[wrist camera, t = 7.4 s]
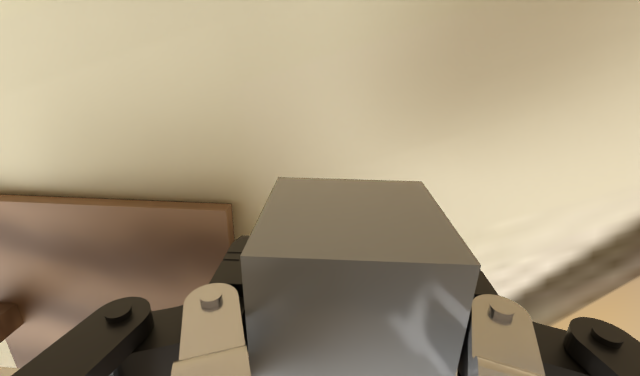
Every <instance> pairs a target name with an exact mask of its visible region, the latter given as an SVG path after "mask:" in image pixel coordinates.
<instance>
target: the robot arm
mask: <svg viewBox="0 0 640 376" xmlns="http://www.w3.org/2000/svg"><path fill="white" fill-rule="evenodd" d="M249 237H250V236H241V237H239V238H238V239H237V240H235V241H234V242H233V243H232V244H231V245H230V247H229V249H228V251H227V253H226V254H225V256H224V258H223V261H221V263H220V265H219V267H218V269H217V270H216V272H215V274H214V276H213V277H212V279H211V281H210V283H209V284H207V285H204V286H201V287H199V288H197V289H195V290H194V291H192V292H191V293H190V294H189V295H188V296H187V297H186V299H185V301H184V305H181V306H177V307H172V308H167V309H161V310H156V311H151V306H150V303H149V302H148V301H147V300H146V299H144V298H141V297H125V298H120V299H117V300H114V301H111V302H109V303H107V304H105V305H103V306H102V307H100V308H99V309H97V310H96V311H95V312H93V313H92V314H91V315H89V316H88V317H87V318H86V319H84V320H83V321H82V322H80V323H79V324H78V325H76V326H75V327H74V328H73V329H71V330H70V331H69V332H67V333H66V334H65V335H63V336H62V337H61V338H59V339H58V340H57V341H56V342H54V343H53V344H52V345H50V346H49V347H48V348H46V349H45V350H44V351H43V352H41V353H40V354H39V355H37V356H36V357H35V358H33V359H32V360H31V361H30V362H28V363H27V364H26V365H24V366H23V367H22V368H20V369H19V370H18V371H17V372H15V373H14V374H13V375H11V376H251V372H250V365H249V358H248V343H247V331H246V319H245V307H244V295H243V283H242V271H241V259H240V255H241V253H242V251H243V249H244V247H245V245H246V243H247V241H248V239H249ZM456 376H640V342H639V341H638V340H636V339H635V338H633V337H632V336H631V335H629V334H628V333H626V332H625V331H623V330H621V329H620V328H618V327H616V326H614V325H612V324H609V323H607V322H604V321H601V320H598V319H594V318H587V317H579V318H575V319H573V320H572V321H571V322H570V324H569V327H568V330H567V331H565V330H562V329H558V328H553V327H550V326H546V325H542V324H539V323H535V322H532V319H531V317H530V315H529V313H528V312H527V311H526V310H525V309H524V308H523V307H522V306H520V305H519V304H517V303H516V302H514V301H512V300H510V299H508V298H505V297H502V296H499V295H498V294H497V292H496V291H495V290H494V288H493V287H492V285H491V284H490V282H489V281H488V279H487V278H486V277H485V275H484V274H483V272H482V271H480V272H479V276H478V280H477V285H476V289H475V293H474V298H473V302H472V306H471V311H470V315H469V320H468V324H467V328H466V333H465V337H464V341H463V346H462V350H461V354H460V359H459V363H458V368H457V372H456Z"/></svg>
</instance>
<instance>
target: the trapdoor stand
mask: <svg viewBox="0 0 640 376" xmlns="http://www.w3.org/2000/svg"><path fill="white" fill-rule="evenodd" d="M233 242H234V230H233V217H232V205H231V204H221V203H197V202H172V201H148V200H124V199H100V198H75V197H51V196H27V195H2V194H0V343H1V342H2V341H3V340H4V339H6V342H7V344H8V347H9V349H10V352H11V354H12V356H13V359H14V361H15V364H16V366H17V368H22V367H23V366H24V365H26V364H27V363H28V362H30V361H31V360H32V359H33V358H35V357H36V356H37V355H39V354H40V353H41V352H43V351H44V350H45V349H46V348H48V347H49V346H50V345H52V344H53V343H54V342H56V341H57V340H58V339H59V338H61V337H62V336H63V335H65V334H66V333H67V332H69V331H70V330H71V329H73V328H74V327H75V326H76V325H78V324H79V323H80V322H82V321H83V320H84V319H86V318H87V317H88V316H89V315H91V314H92V313H93V312H95V311H96V310H97V309H99V308H100V307H102V306H103V305H105V304H107V303H109V302H111V301H114V300H117V299H120V298H125V297H141V298H144V299H146V300H147V301H148V302H149V303H150V306H151V311H156V310H161V309H167V308H172V307H177V306H181V305H184V301H185V299H186V297H187V296H188V295H189V294H190V293H191V292H192V291H194V290H195V289H197V288H199V287H201V286H204V285H207V284H209V283H210V281H211V279H212V277H213V276H214V274H215V272H216V270H217V269H218V267H219V265H220V263H221V261H223V258H224V256H225V254H226V253H227V251H228V249H229V247H230V245H231V244H232V243H233Z"/></svg>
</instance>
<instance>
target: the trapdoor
mask: <svg viewBox="0 0 640 376" xmlns="http://www.w3.org/2000/svg"><path fill="white" fill-rule="evenodd" d="M19 369H20V368H7V367H0V376H11V375H13V374H14V373H15V372H17V371H18V370H19Z"/></svg>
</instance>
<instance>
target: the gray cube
mask: <svg viewBox="0 0 640 376" xmlns="http://www.w3.org/2000/svg"><path fill="white" fill-rule="evenodd" d="M240 259H241V271H242V283H243V295H244V307H245V319H246V331H247V343H248V355H249V365H250V372H251V376H456V372H457V368H458V363H459V359H460V354H461V350H462V346H463V341H464V337H465V333H466V328H467V324H468V320H469V315H470V311H471V306H472V302H473V298H474V293H475V289H476V285H477V280H478V276H479V272H480V267H481V265H480V263H479V262H478V260H477V259H476V258H475V256H474V255H473V253H472V252H471V250H470V249H469V248H468V246H467V245H466V243H465V242H464V241H463V239H462V238H461V236H460V235H459V234H458V232H457V231H456V229H455V228H454V226H453V225H452V224H451V222H450V221H449V219H448V218H447V217H446V215H445V214H444V212H443V211H442V210H441V208H440V207H439V205H438V204H437V203H436V201H435V200H434V198H433V197H432V195H431V194H430V193H429V191H428V190H427V188H426V187H425V186H424V184H423V183H422V182H419V181H386V180H353V179H319V178H286V177H278V179H277V181H276V183H275V185H274V187H273V189H272V191H271V194H270V196H269V198H268V200H267V202H266V204H265V206H264V208H263V210H262V212H261V214H260V216H259V218H258V220H257V222H256V224H255V227H254V229H253V231H252V233H251V235H250V237H249V239H248V241H247V243H246V245H245V247H244V249H243V251H242V253H241V255H240Z"/></svg>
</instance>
